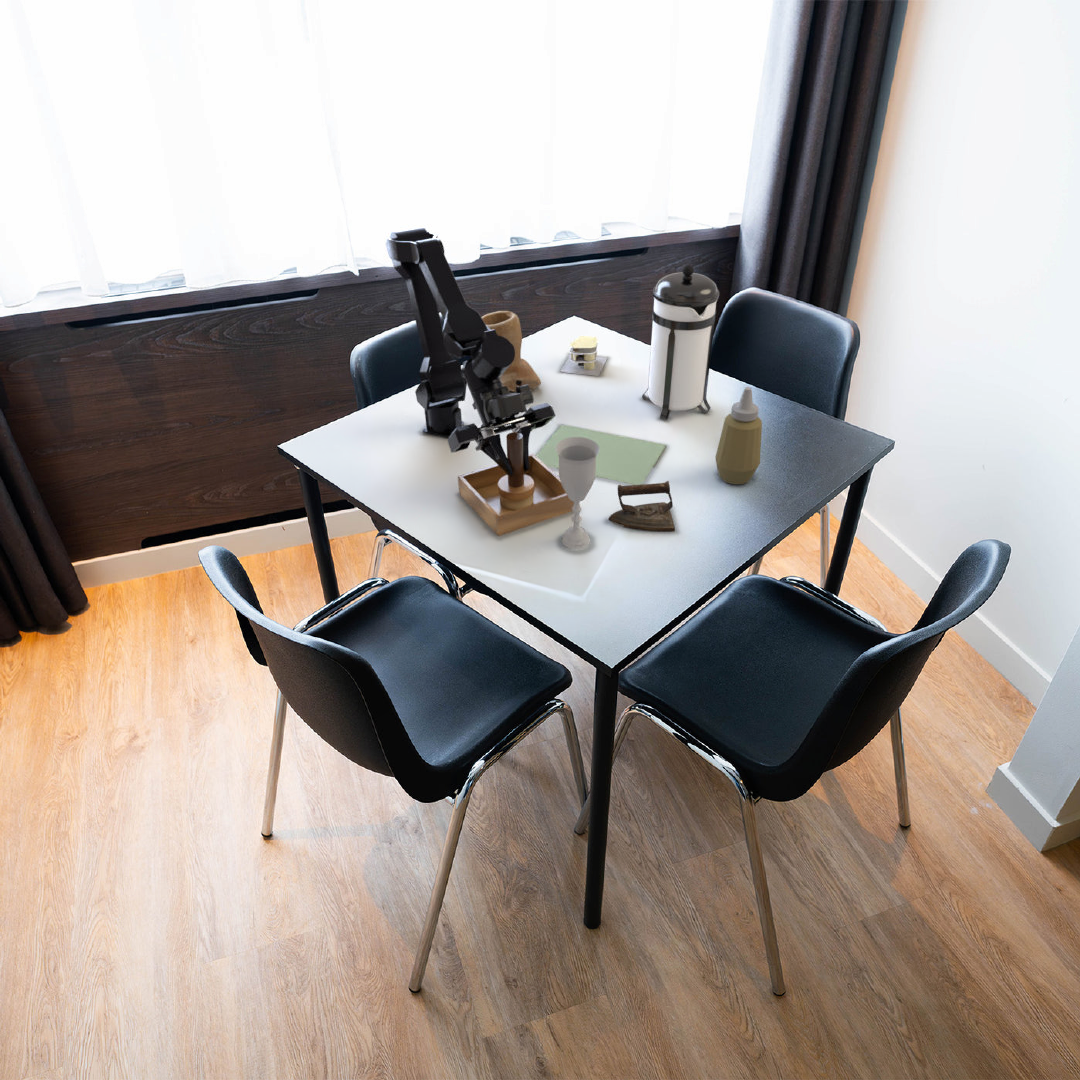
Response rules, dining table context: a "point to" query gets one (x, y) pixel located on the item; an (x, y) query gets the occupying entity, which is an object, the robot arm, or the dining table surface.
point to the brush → (516, 477)
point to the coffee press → (681, 341)
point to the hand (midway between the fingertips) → (519, 473)
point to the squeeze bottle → (740, 442)
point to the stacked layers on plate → (584, 357)
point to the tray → (486, 502)
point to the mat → (609, 454)
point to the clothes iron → (645, 509)
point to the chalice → (577, 482)
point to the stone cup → (511, 330)
